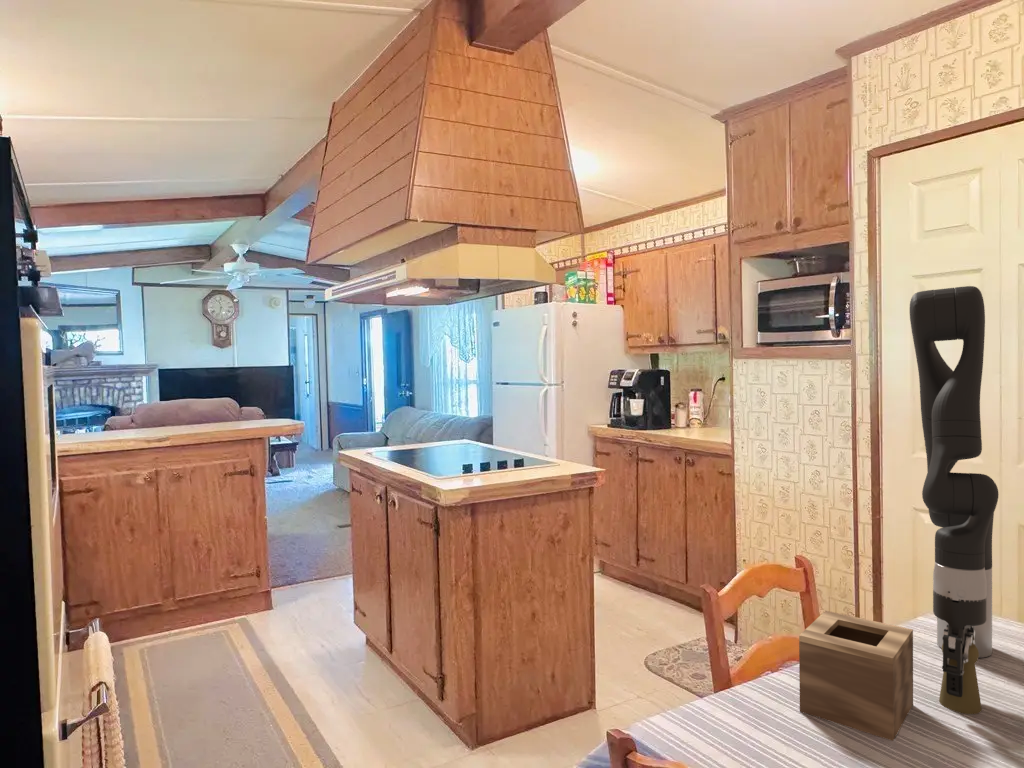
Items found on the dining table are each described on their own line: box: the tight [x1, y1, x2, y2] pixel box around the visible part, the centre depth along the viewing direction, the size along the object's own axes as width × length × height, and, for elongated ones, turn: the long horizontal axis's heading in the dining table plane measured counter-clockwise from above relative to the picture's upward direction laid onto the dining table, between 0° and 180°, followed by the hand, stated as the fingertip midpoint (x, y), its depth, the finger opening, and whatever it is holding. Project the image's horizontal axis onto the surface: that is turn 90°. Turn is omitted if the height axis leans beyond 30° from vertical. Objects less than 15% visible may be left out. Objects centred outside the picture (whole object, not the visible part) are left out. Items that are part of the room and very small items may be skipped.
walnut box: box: [798, 610, 914, 742], centre depth 114 cm, size 14×14×13 cm
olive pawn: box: [938, 643, 983, 715], centre depth 114 cm, size 6×6×11 cm
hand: (959, 685), depth 114 cm, fingers open, 8 cm apart
